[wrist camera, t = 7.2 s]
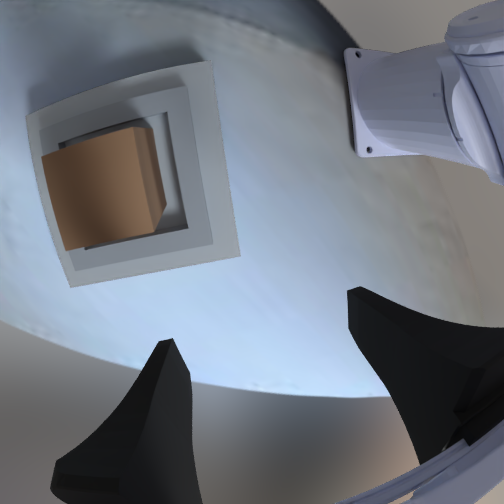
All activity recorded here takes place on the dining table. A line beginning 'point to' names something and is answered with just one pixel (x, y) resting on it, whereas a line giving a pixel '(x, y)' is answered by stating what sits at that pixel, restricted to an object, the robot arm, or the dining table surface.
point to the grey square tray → (171, 167)
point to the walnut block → (106, 187)
